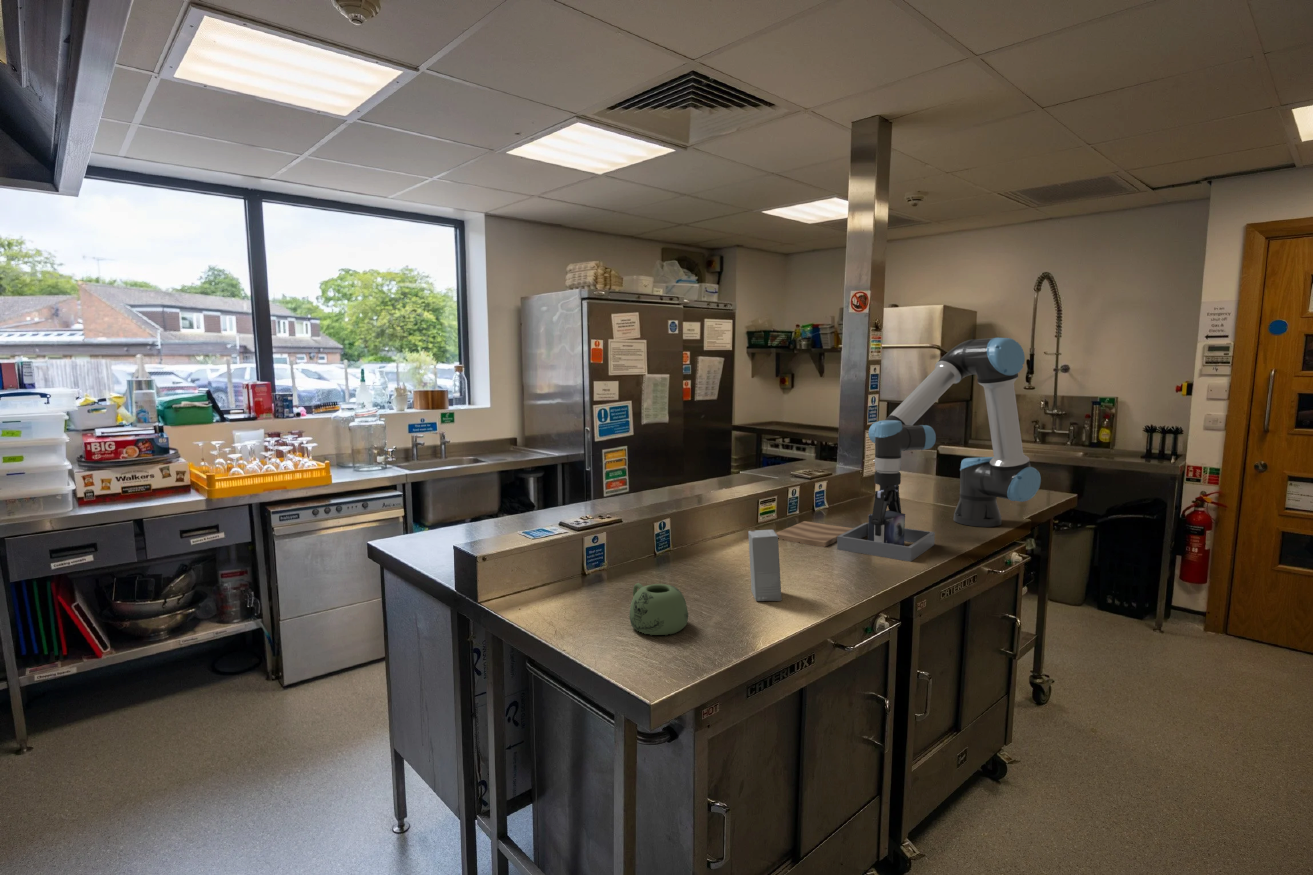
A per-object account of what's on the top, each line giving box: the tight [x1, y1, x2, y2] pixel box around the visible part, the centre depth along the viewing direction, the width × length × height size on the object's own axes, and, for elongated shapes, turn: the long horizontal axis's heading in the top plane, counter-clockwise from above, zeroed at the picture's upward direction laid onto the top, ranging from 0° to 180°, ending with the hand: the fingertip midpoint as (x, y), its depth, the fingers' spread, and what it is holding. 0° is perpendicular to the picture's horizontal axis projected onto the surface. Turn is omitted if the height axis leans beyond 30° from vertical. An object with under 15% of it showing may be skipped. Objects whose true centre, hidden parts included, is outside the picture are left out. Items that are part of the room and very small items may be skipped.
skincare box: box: [747, 529, 782, 602], centre depth 158 cm, size 8×7×16 cm
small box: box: [867, 509, 906, 546], centre depth 199 cm, size 11×6×10 cm, turn 126°
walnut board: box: [775, 520, 854, 548], centre depth 215 cm, size 22×18×2 cm
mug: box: [629, 582, 689, 636], centre depth 142 cm, size 16×13×9 cm
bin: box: [836, 522, 936, 562], centre depth 200 cm, size 22×22×4 cm
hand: (886, 541), depth 200 cm, fingers open, 11 cm apart
